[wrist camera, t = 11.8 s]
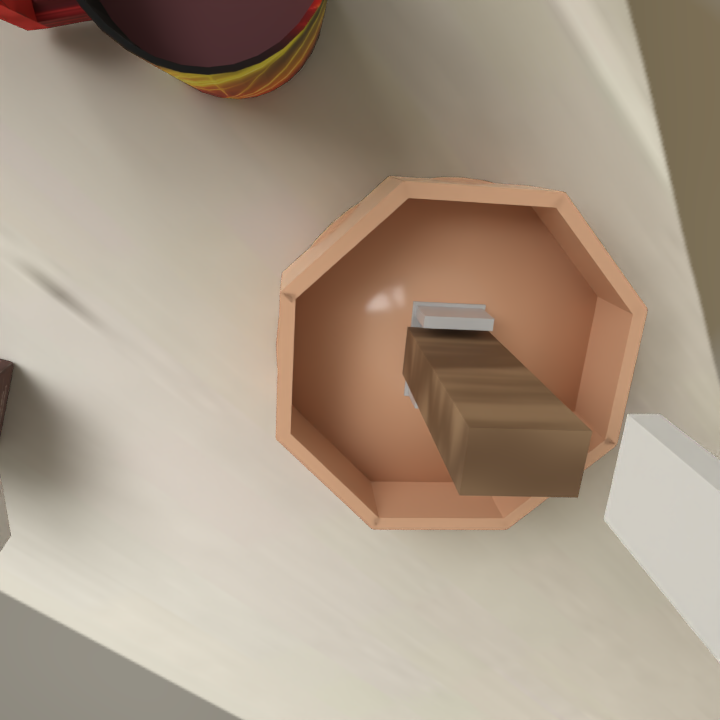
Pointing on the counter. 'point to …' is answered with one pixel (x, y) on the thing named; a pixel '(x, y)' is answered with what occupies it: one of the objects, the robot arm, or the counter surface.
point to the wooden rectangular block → (493, 417)
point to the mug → (196, 36)
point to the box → (4, 386)
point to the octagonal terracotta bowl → (444, 311)
